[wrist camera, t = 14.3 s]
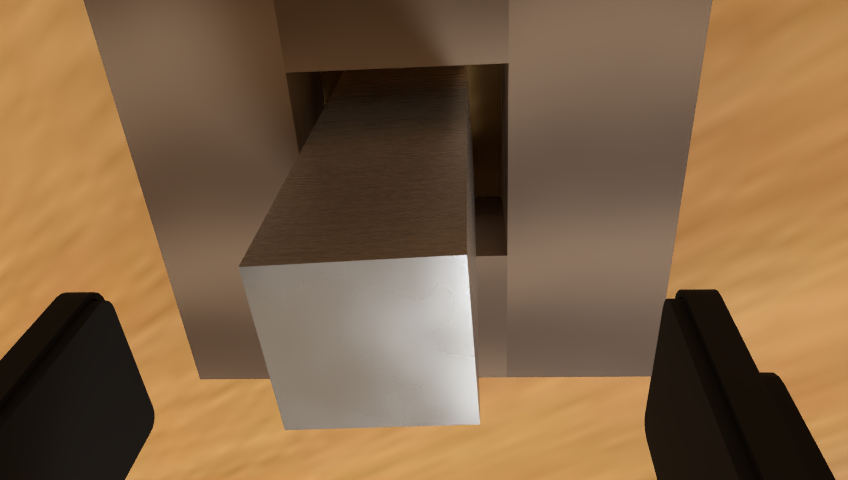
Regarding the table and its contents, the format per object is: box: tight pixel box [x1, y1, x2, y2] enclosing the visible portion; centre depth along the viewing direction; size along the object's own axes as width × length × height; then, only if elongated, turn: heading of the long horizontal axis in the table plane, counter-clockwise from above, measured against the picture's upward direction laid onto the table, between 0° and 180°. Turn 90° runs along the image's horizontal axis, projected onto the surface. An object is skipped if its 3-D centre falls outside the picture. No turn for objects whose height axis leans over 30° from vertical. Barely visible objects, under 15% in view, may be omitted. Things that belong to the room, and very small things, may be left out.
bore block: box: [84, 0, 712, 379], centre depth 21 cm, size 16×16×4 cm
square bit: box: [238, 65, 480, 430], centre depth 18 cm, size 4×4×12 cm
